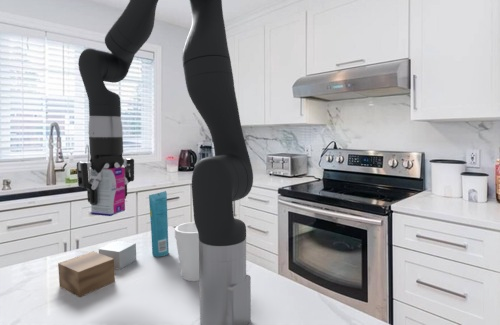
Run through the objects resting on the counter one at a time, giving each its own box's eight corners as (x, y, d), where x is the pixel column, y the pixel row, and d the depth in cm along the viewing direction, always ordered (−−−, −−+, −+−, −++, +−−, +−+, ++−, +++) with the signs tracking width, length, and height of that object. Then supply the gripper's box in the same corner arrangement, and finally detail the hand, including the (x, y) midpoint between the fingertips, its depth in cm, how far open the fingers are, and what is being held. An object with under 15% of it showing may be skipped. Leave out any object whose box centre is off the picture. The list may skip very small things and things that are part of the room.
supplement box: (112, 216, 76) (110, 169, 75) (90, 214, 78) (88, 168, 76) (126, 210, 82) (125, 166, 81) (106, 209, 83) (104, 165, 82)
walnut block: (115, 281, 80) (113, 258, 80) (79, 297, 73) (78, 272, 72) (94, 272, 85) (93, 251, 85) (59, 286, 78) (58, 263, 77)
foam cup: (168, 277, 83) (167, 228, 81) (194, 264, 90) (193, 220, 89) (194, 287, 77) (193, 235, 76) (219, 273, 85) (219, 226, 83)
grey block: (136, 259, 94) (135, 243, 93) (119, 269, 87) (119, 251, 87) (117, 256, 96) (116, 240, 96) (99, 266, 89) (98, 249, 89)
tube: (161, 248, 102) (159, 190, 100) (173, 250, 101) (172, 191, 99) (146, 257, 95) (143, 194, 94) (159, 259, 94) (157, 195, 92)
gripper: (85, 136, 70) (88, 209, 71) (140, 135, 81) (142, 198, 83) (67, 135, 74) (71, 204, 76) (123, 134, 86) (125, 194, 87)
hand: (108, 201), depth 79 cm, fingers closed on supplement box, 7 cm apart
